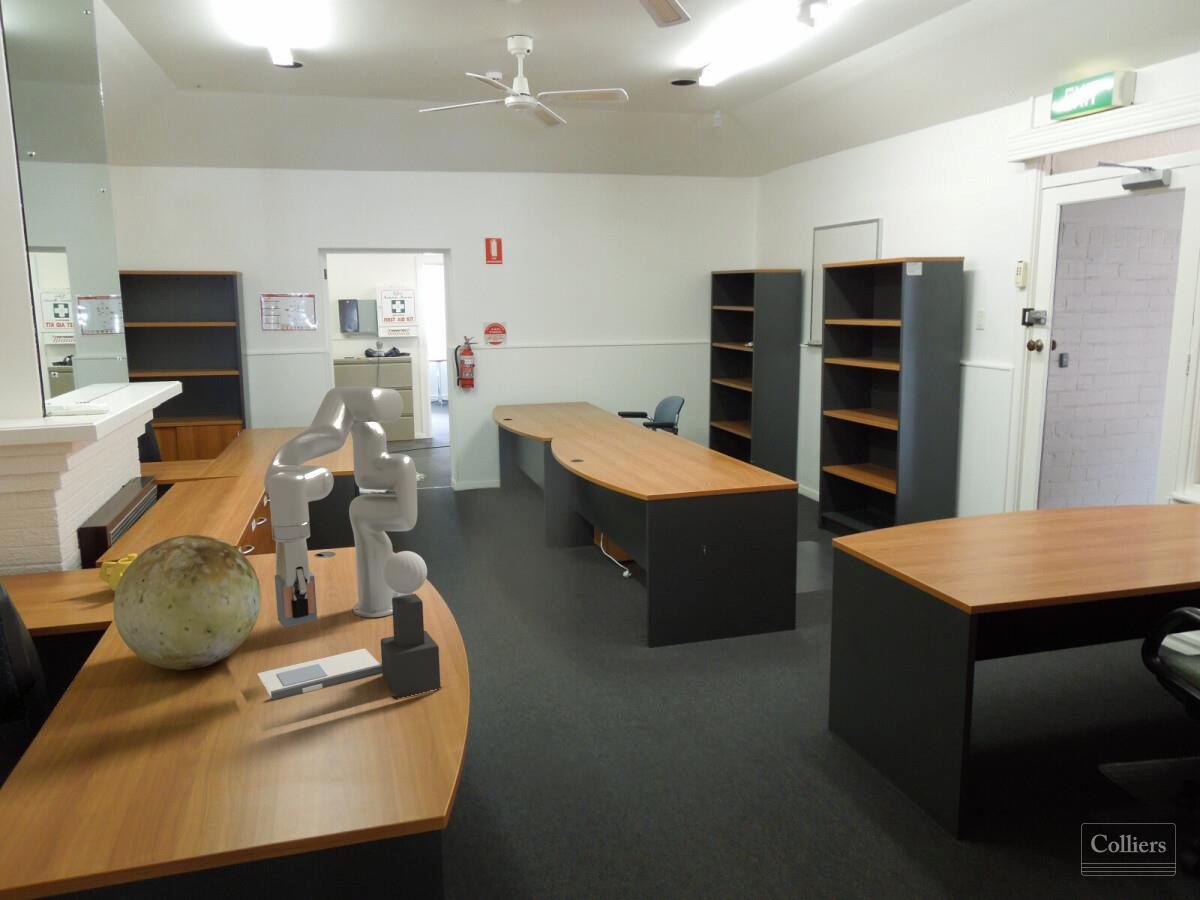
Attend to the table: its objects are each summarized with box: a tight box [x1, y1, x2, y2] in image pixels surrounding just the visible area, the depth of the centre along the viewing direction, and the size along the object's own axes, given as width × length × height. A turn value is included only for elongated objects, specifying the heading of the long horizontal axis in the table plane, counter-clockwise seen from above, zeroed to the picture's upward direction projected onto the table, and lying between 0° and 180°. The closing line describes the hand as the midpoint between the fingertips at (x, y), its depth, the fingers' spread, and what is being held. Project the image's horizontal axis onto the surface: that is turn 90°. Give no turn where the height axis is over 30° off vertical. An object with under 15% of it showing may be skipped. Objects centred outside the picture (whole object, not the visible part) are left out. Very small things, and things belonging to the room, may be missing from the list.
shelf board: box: [256, 647, 382, 701], centre depth 184 cm, size 24×15×3 cm, turn 123°
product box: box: [274, 570, 318, 628], centre depth 180 cm, size 5×7×10 cm
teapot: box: [98, 552, 141, 593], centre depth 241 cm, size 20×18×11 cm
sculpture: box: [380, 550, 441, 700], centre depth 178 cm, size 10×10×30 cm
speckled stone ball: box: [113, 534, 262, 671], centre depth 190 cm, size 30×30×30 cm
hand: (297, 611), depth 180 cm, fingers closed on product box, 5 cm apart
